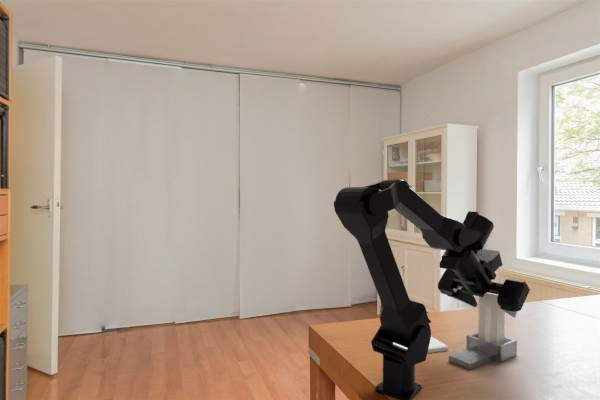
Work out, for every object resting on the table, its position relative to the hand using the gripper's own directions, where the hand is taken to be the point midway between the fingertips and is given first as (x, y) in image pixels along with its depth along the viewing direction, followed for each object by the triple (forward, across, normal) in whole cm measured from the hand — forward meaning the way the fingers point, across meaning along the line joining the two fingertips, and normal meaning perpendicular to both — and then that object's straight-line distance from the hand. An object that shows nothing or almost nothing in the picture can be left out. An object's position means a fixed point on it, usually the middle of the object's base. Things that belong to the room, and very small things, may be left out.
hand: (494, 310), depth 90 cm
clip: (+5, 0, +7) cm, 8 cm away
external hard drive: (-2, +12, +16) cm, 20 cm away
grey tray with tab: (+3, 0, +10) cm, 11 cm away
